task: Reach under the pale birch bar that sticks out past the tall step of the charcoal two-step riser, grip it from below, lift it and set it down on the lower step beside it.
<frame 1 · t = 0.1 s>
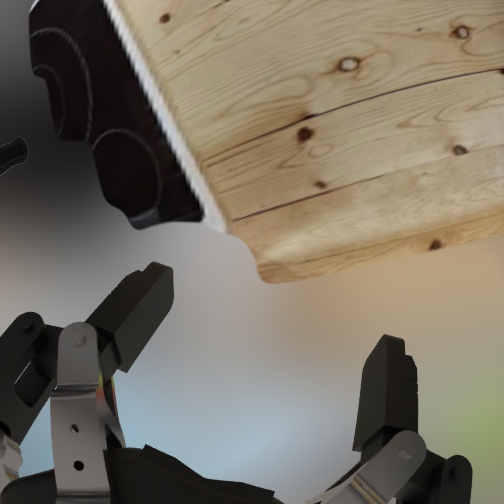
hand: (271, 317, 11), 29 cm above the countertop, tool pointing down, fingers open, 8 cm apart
beer glass: (21, 149, 50), on the countertop
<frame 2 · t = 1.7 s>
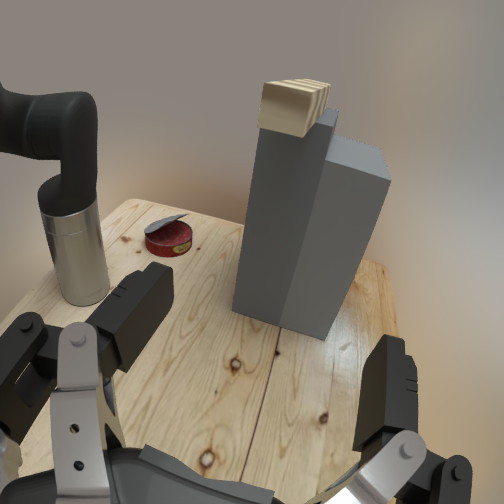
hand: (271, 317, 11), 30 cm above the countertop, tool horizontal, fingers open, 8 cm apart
birch bar: (301, 114, 34), point 32 cm above the countertop, touching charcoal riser
canned food: (168, 244, 64), on the countertop
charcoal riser: (288, 295, 56), on the countertop
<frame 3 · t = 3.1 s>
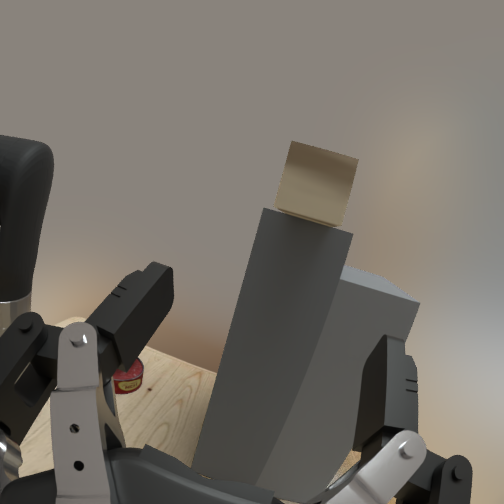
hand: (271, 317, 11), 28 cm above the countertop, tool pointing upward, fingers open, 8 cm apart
birch bar: (308, 221, 29), point 32 cm above the countertop, touching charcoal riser
canned food: (113, 377, 45), on the countertop
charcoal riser: (262, 453, 37), on the countertop
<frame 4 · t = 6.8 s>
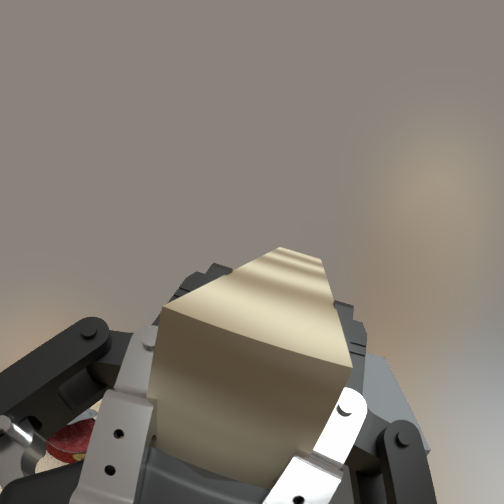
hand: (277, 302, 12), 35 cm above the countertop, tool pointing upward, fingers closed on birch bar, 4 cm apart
birch bar: (272, 331, 18), point 32 cm above the countertop, touching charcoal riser, gripper
canned food: (71, 442, 34), on the countertop
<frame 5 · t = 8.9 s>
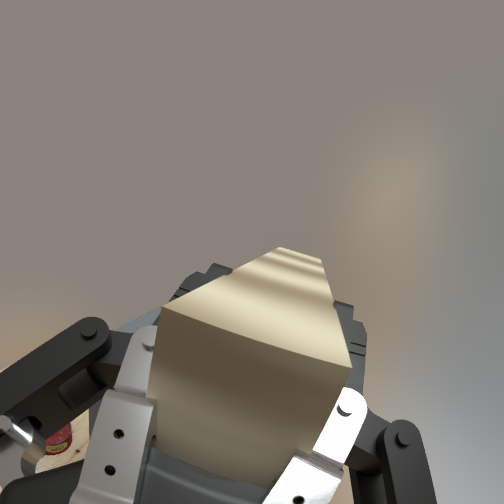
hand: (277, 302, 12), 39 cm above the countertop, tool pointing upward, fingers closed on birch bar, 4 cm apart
birch bar: (272, 332, 18), point 36 cm above the countertop, touching gripper
canned food: (45, 435, 36), on the countertop
when the fingers open (33 cm above the countertop, at t = 11.2 s): birch bar drops 1 cm, resting on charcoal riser.
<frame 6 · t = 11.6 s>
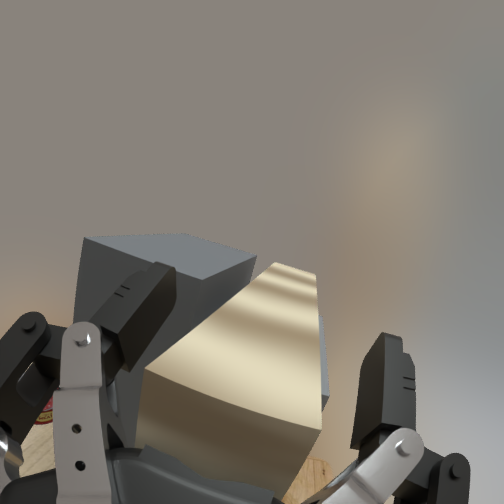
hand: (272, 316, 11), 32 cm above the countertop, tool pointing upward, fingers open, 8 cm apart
birch bar: (264, 354, 18), point 28 cm above the countertop, touching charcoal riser
canned food: (34, 405, 35), on the countertop
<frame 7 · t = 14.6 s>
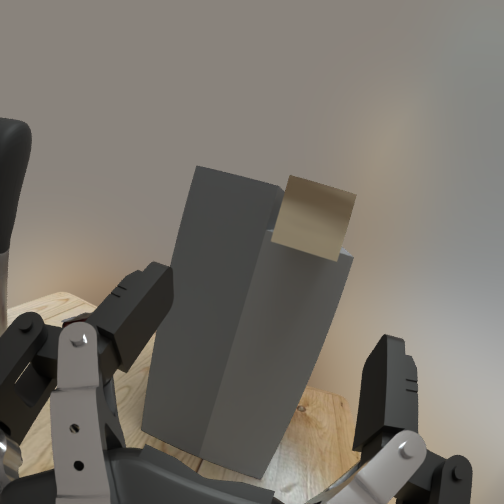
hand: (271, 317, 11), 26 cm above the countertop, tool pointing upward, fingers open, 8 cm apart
birch bar: (310, 241, 29), point 28 cm above the countertop, touching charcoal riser
canned food: (87, 344, 48), on the countertop
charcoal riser: (218, 423, 39), on the countertop
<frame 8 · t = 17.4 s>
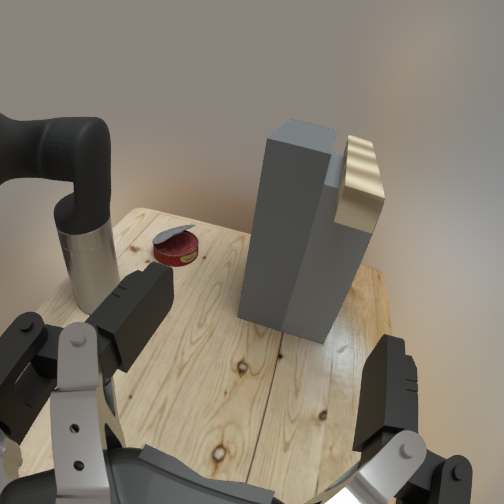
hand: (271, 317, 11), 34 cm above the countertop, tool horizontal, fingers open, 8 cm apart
birch bar: (354, 185, 39), point 28 cm above the countertop, touching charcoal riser
canned food: (175, 253, 68), on the countertop
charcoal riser: (289, 301, 60), on the countertop
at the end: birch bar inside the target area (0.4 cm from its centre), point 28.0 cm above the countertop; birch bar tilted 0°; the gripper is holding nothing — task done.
